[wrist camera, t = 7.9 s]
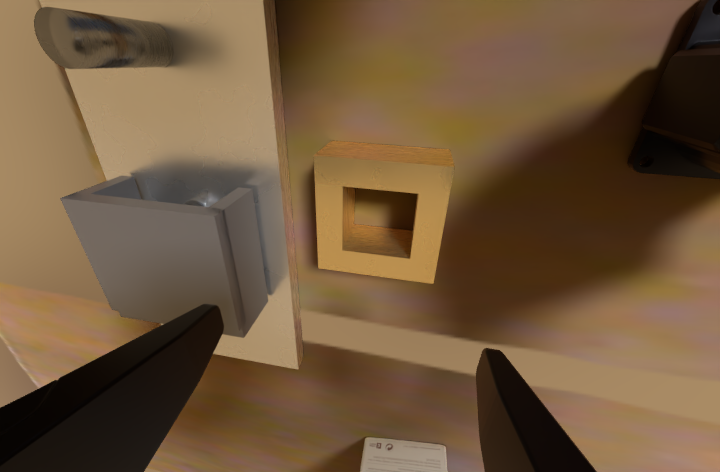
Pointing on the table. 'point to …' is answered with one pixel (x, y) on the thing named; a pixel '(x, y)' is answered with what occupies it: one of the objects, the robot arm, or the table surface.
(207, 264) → the box
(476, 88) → the table surface
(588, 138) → the table surface
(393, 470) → the supplement box
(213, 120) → the pin plate
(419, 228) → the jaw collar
